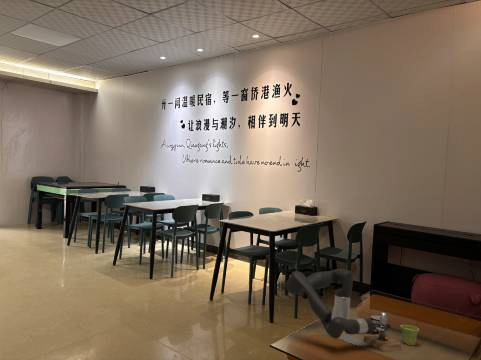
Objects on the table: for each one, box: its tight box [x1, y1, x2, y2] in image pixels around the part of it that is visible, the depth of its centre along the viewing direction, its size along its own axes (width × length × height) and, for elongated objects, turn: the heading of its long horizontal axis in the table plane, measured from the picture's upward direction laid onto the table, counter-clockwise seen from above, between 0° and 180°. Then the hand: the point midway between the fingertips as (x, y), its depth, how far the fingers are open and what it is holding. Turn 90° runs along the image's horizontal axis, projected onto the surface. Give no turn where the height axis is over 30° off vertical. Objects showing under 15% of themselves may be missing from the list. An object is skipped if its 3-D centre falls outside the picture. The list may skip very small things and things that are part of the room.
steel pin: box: [379, 311, 388, 341], centre depth 199 cm, size 3×3×14 cm
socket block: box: [363, 334, 402, 352], centre depth 198 cm, size 14×12×4 cm
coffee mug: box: [369, 315, 388, 335], centre depth 217 cm, size 12×9×10 cm
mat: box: [338, 335, 371, 347], centre depth 202 cm, size 14×10×1 cm
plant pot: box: [400, 324, 420, 346], centre depth 207 cm, size 9×9×9 cm
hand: (386, 325), depth 200 cm, fingers closed on steel pin, 3 cm apart
